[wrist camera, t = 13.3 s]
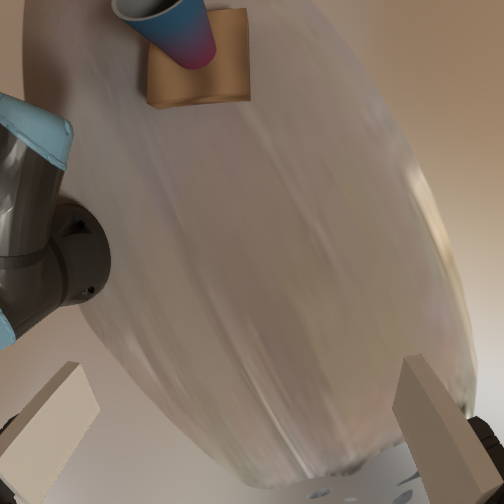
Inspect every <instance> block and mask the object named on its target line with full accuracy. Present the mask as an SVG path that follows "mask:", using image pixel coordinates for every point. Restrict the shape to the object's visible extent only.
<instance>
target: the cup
mask: <svg viewBox="0 0 504 504" xmlns="http://www.w3.org/2000/svg"><path fill="white" fill-rule="evenodd" d="M111 6H112V9H113V12H114V13H115V14H116V16H118V17H119V18H121V19H122V20H123V21H125V22H126V23H127V24H129V25H130V26H131V27H133V28H134V29H135V30H136V31H138V32H139V33H140V34H142V35H143V36H144V37H146V38H147V39H148V40H149V41H151V42H152V43H153V44H154V45H156V46H157V47H158V48H159V49H161V50H162V51H163V52H164V53H165V54H167V55H168V56H169V57H170V58H171V59H173V60H174V61H175V62H176V63H177V64H179V65H180V66H181V67H183V68H185V69H191V70H193V69H199V68H202V67H204V66H206V65H207V64H209V63H210V62H211V61H212V59H213V58H214V56H215V54H216V44H215V40H214V37H213V33H212V29H211V26H210V22H209V19H208V15H207V12H206V8H205V5H204V1H203V0H111Z"/></svg>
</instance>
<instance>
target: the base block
mask: <svg viewBox="0 0 504 504" xmlns="http://www.w3.org/2000/svg"><path fill="white" fill-rule="evenodd" d="M207 15H208V19H209V22H210V26H211V29H212V33H213V37H214V40H215V44H216V54H215V56H214V58H213V59H212V61H211V62H210V63H209V64H207V65H206V66H204V67H202V68H199V69H193V70H191V69H185V68H183V67H181V66H180V65H179V64H177V63H176V62H175V61H174V60H173V59H171V58H170V57H169V56H168V55H167V54H165V53H164V52H163V51H162V50H161V49H159V48H158V47H157V46H156V45H154V44H153V43H152V42H151V41H149V55H148V74H147V104H149V105H151V106H153V107H154V108H156V109H165V108H172V107H180V106H189V105H198V104H209V103H222V102H238V101H251V98H250V62H249V27H248V17H247V10H246V8H240V9H227V10H216V11H207Z"/></svg>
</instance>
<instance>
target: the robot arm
mask: <svg viewBox="0 0 504 504" xmlns="http://www.w3.org/2000/svg"><path fill="white" fill-rule="evenodd" d="M73 135H74V132H73V127H72V125H71V123H70V122H69V121H68V120H67V119H65V118H64V117H62V116H59V115H57V114H54V113H52V112H50V111H47V110H45V109H42V108H40V107H37V106H35V105H32V104H30V103H27V102H25V101H22V100H20V99H17V98H14V97H11V96H9V95H6V94H3V93H1V92H0V351H1V350H2V349H4V348H5V347H7V346H9V345H12V344H14V343H15V341H16V340H17V339H18V338H20V337H21V336H22V335H23V334H24V333H26V332H27V331H28V330H30V329H31V328H32V327H33V326H35V325H36V324H37V323H39V322H40V321H41V320H42V319H44V318H45V317H46V316H48V315H49V314H50V313H52V312H53V311H54V310H56V309H57V308H58V307H62V306H69V305H75V304H81V303H84V302H86V301H88V300H90V299H91V298H93V297H94V296H95V295H97V294H98V293H99V292H100V291H101V290H102V289H103V287H104V286H105V284H106V282H107V280H108V277H109V273H110V266H111V256H110V249H109V244H108V241H107V238H106V235H105V233H104V231H103V229H102V227H101V226H100V224H99V223H98V221H97V220H96V219H95V218H94V217H93V215H91V214H90V213H89V212H88V211H87V210H85V209H84V208H82V207H80V206H77V205H73V204H63V205H58V206H56V202H57V197H58V193H59V190H60V186H61V182H62V179H63V175H64V172H65V171H66V170H67V160H68V155H69V151H70V147H71V144H72V140H73ZM392 409H393V412H394V414H395V416H396V419H397V421H398V423H399V425H400V428H401V430H402V432H403V435H404V437H405V440H406V442H407V444H408V447H409V449H410V452H411V454H412V457H413V459H414V461H415V464H416V466H417V469H418V472H419V474H420V477H421V479H422V482H423V484H424V487H425V490H426V492H427V495H428V498H429V501H430V503H431V504H504V448H503V446H502V444H500V441H499V440H498V438H497V437H496V436H495V435H494V432H493V431H492V429H491V428H490V426H489V425H488V424H487V423H486V422H485V421H483V420H482V419H480V418H479V417H477V416H475V417H473V418H470V419H468V420H466V418H465V417H464V415H463V413H462V412H461V410H460V409H459V407H458V406H457V404H456V403H455V401H454V400H453V398H452V397H451V396H450V394H449V393H448V391H447V390H446V388H445V387H444V385H443V384H442V383H441V381H440V380H439V378H438V377H437V375H436V374H435V373H434V371H433V370H432V368H431V367H430V366H429V364H428V363H427V361H426V360H425V359H424V357H423V356H422V355H421V354H418V355H413V356H408V357H404V359H403V364H402V369H401V374H400V378H399V383H398V387H397V391H396V395H395V399H394V403H393V407H392ZM99 411H100V408H99V406H98V403H97V401H96V399H95V397H94V395H93V392H92V390H91V388H90V385H89V383H88V381H87V378H86V376H85V374H84V371H83V368H82V366H81V363H75V362H69V361H68V362H67V363H66V364H65V365H64V366H63V367H62V368H61V369H60V370H59V371H58V372H57V373H56V374H55V375H54V376H53V377H52V378H51V379H50V381H49V382H48V383H47V384H46V385H45V386H44V387H43V388H42V389H41V390H40V391H39V392H38V393H37V395H36V396H35V397H34V398H33V399H32V400H31V401H30V402H29V403H28V404H27V405H26V406H25V408H24V409H23V410H22V411H21V412H20V413H19V414H17V415H16V416H14V417H12V418H11V419H9V420H8V422H7V423H6V424H5V425H4V426H3V429H1V430H0V504H17V503H16V500H15V499H14V498H13V497H14V496H15V495H16V496H17V497H18V498H19V499H20V500H21V501H22V502H23V503H25V504H42V502H43V500H44V499H45V497H46V495H47V494H48V492H49V490H50V489H51V487H52V485H53V484H54V482H55V480H56V479H57V477H58V475H59V474H60V472H61V471H62V469H63V467H64V466H65V464H66V463H67V461H68V459H69V458H70V456H71V454H72V453H73V451H74V450H75V448H76V447H77V445H78V443H79V442H80V440H81V439H82V437H83V436H84V434H85V432H86V431H87V430H88V428H89V427H90V425H91V423H92V422H93V420H94V419H95V417H96V416H97V414H98V413H99Z"/></svg>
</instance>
